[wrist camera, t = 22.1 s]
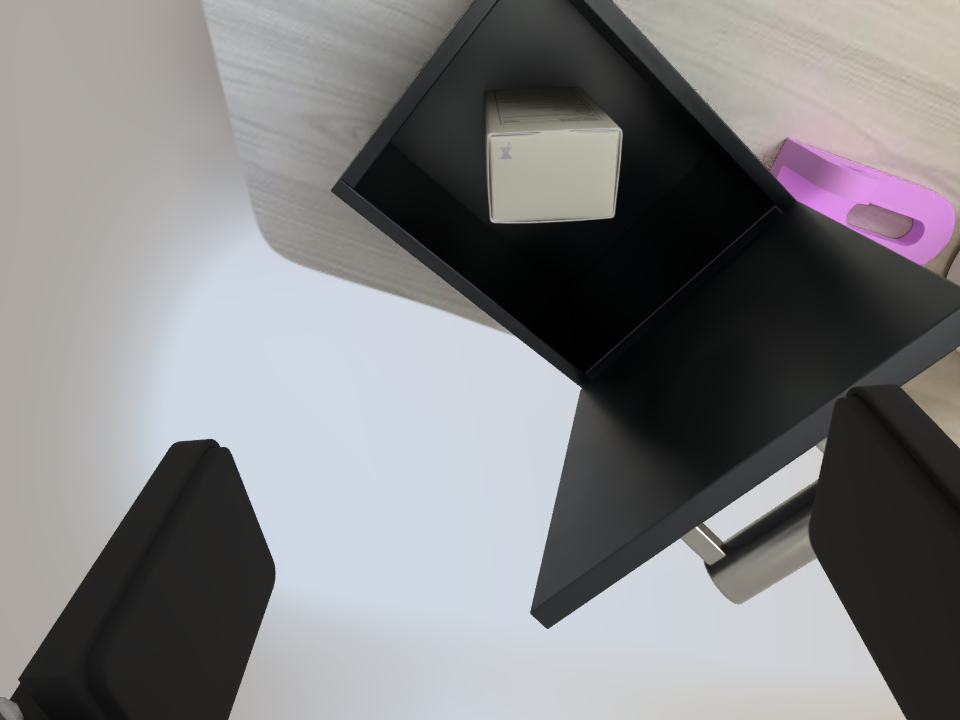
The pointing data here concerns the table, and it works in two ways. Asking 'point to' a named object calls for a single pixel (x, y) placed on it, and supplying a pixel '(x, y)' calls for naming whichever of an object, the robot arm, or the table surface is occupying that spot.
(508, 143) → the cosmetic box
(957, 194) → the table surface
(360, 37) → the table surface
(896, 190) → the bracket
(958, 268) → the planter
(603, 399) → the bin lid
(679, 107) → the black storage bin
